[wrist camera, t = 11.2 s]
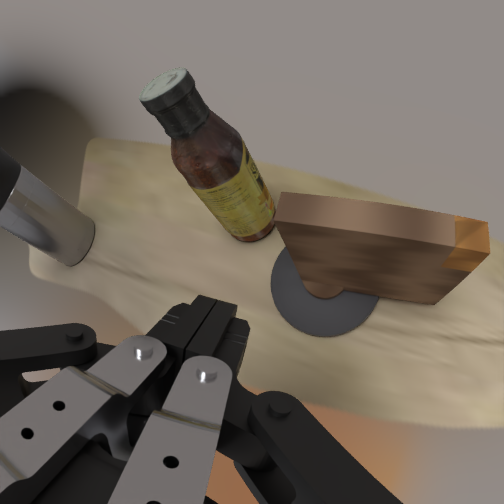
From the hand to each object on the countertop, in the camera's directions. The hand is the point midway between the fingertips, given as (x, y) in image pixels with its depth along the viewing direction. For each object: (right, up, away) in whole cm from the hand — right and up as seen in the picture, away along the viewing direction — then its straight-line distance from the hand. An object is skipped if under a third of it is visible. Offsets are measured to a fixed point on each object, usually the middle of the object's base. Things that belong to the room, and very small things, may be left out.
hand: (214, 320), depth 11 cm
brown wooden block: (+12, 0, +14) cm, 19 cm away
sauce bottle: (+1, +6, +23) cm, 24 cm away
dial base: (+9, 0, +17) cm, 19 cm away
